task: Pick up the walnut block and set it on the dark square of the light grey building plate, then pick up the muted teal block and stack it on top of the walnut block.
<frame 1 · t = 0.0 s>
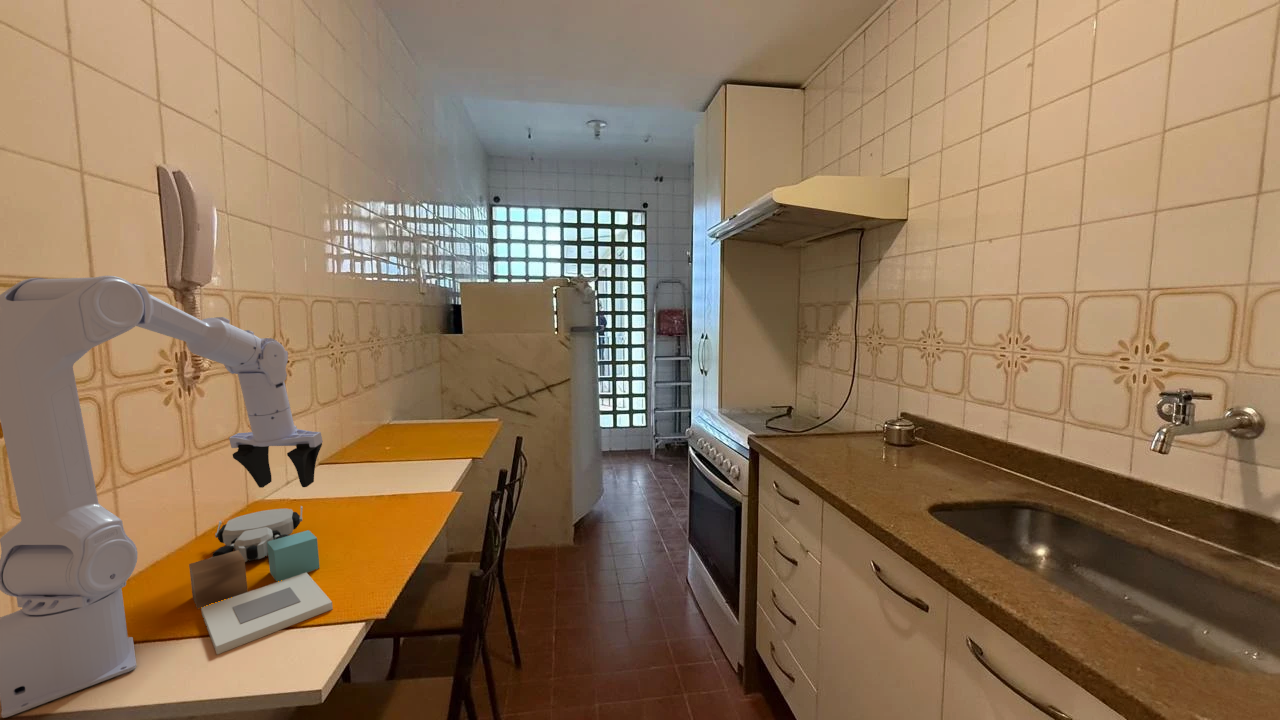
hand: (286, 484, 87), 11 cm above the table, tool pointing down, fingers open, 7 cm apart
walnut brick: (220, 595, 72), on the table
teal brick: (295, 570, 79), on the table
build plate: (267, 611, 68), on the table
robot toy: (259, 550, 87), on the table
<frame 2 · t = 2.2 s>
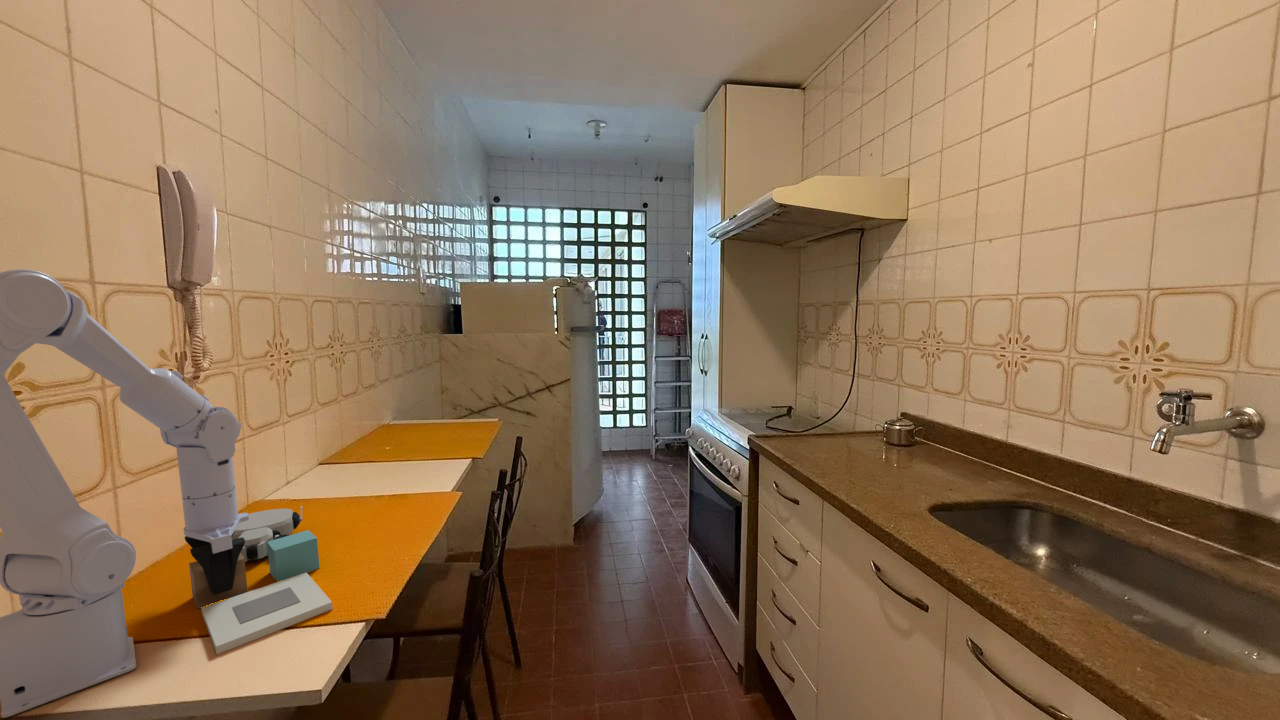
hand: (219, 585, 72), 1 cm above the table, tool pointing down, fingers closed on walnut brick, 4 cm apart
walnut brick: (220, 594, 72), on the table, touching gripper
everything else where it was.
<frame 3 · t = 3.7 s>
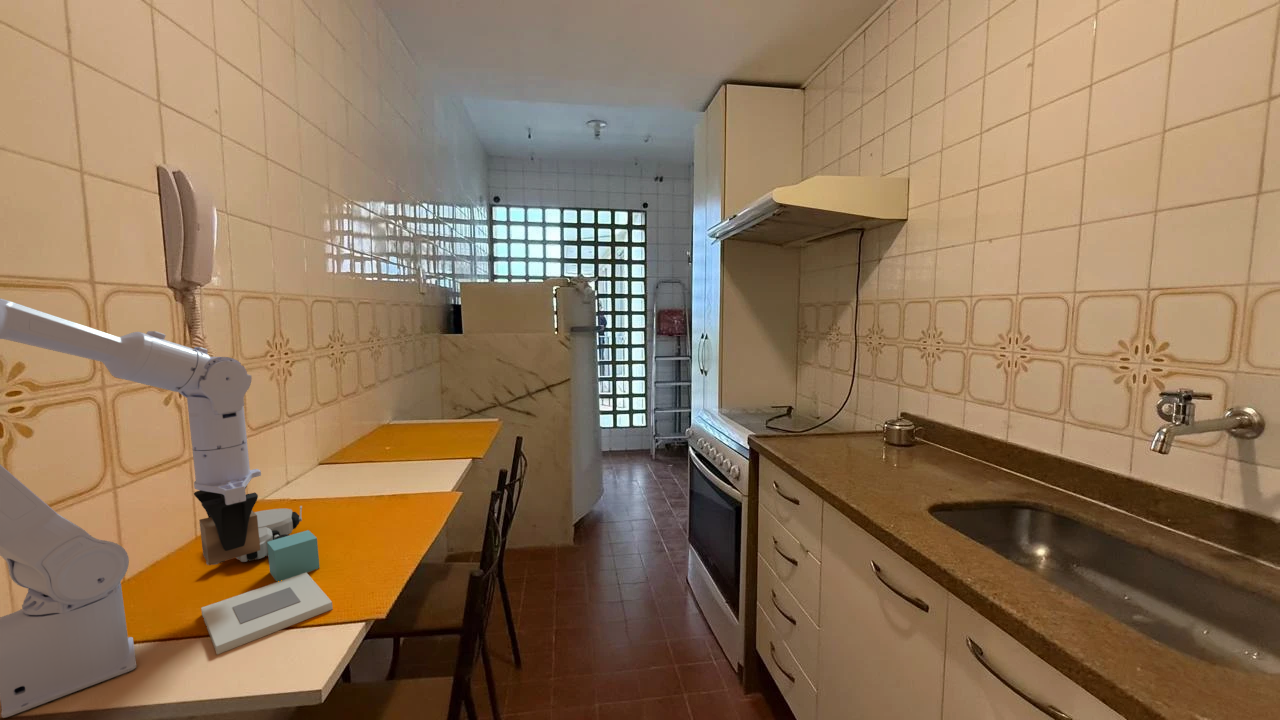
hand: (230, 542, 70), 8 cm above the table, tool pointing down, fingers closed on walnut brick, 4 cm apart
walnut brick: (232, 552, 70), point 7 cm above the table, touching gripper
everything else where it was.
when the fingers open (4 cm above the table, at t = 5.4 s): walnut brick drops 1 cm, resting on build plate.
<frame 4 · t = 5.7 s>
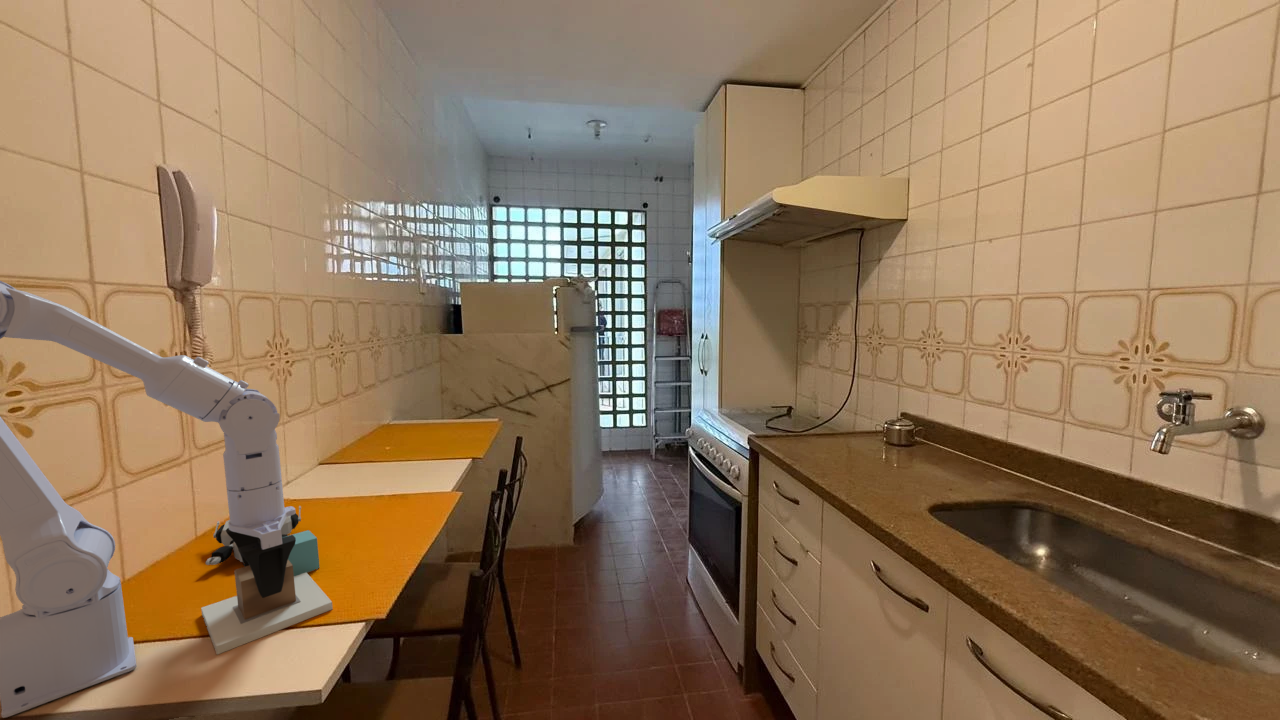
hand: (264, 583, 67), 4 cm above the table, tool pointing down, fingers open, 7 cm apart
walnut brick: (267, 603, 68), point 1 cm above the table, touching build plate
everything else where it was.
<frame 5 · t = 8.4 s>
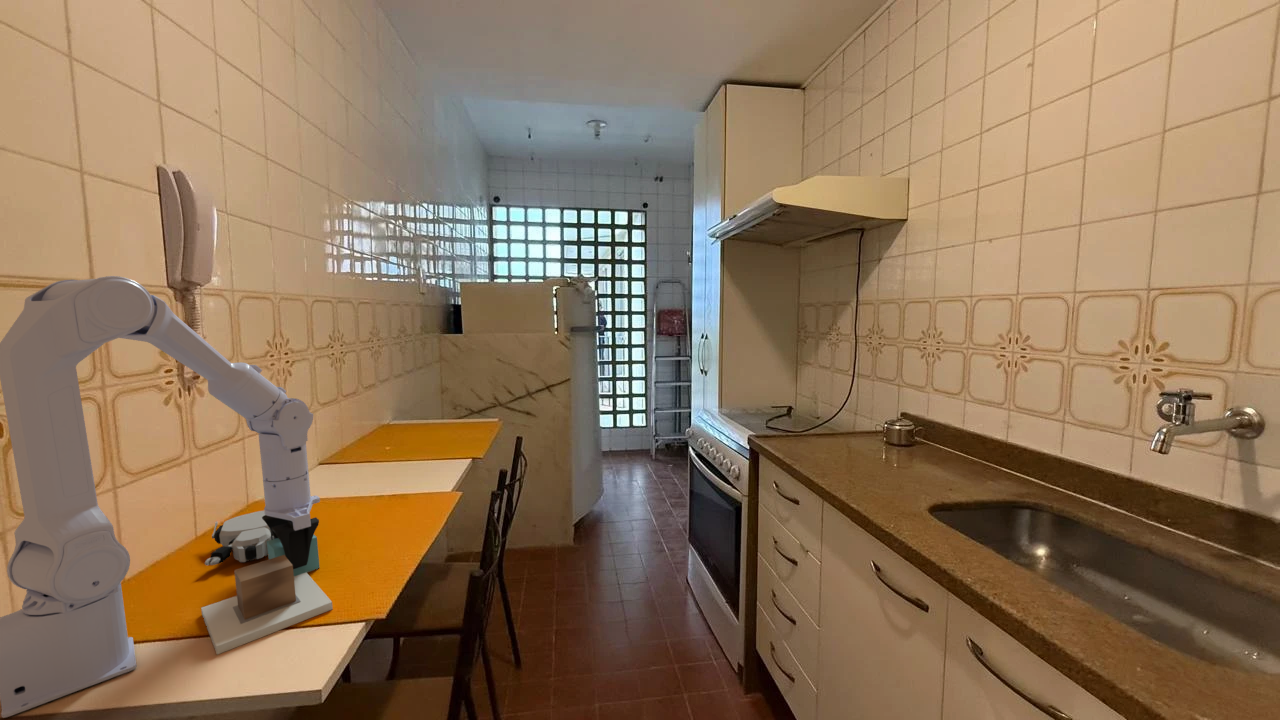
hand: (294, 561, 79), 1 cm above the table, tool pointing down, fingers closed on teal brick, 4 cm apart
teal brick: (294, 570, 79), on the table, touching gripper
everything else where it was.
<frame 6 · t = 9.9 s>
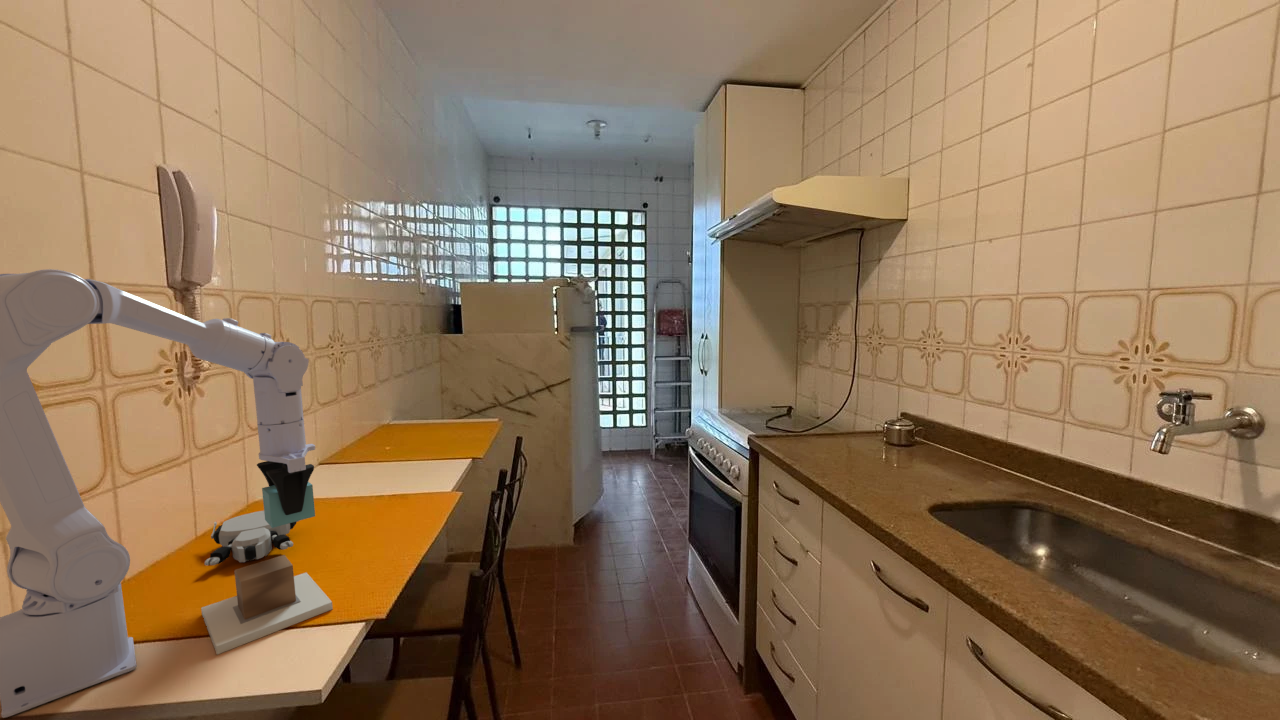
hand: (289, 508, 78), 10 cm above the table, tool pointing down, fingers closed on teal brick, 4 cm apart
teal brick: (290, 518, 78), point 8 cm above the table, touching gripper
everything else where it was.
when the fingers open (9 cm above the table, at t = 11.7 s): teal brick drops 1 cm, resting on walnut brick.
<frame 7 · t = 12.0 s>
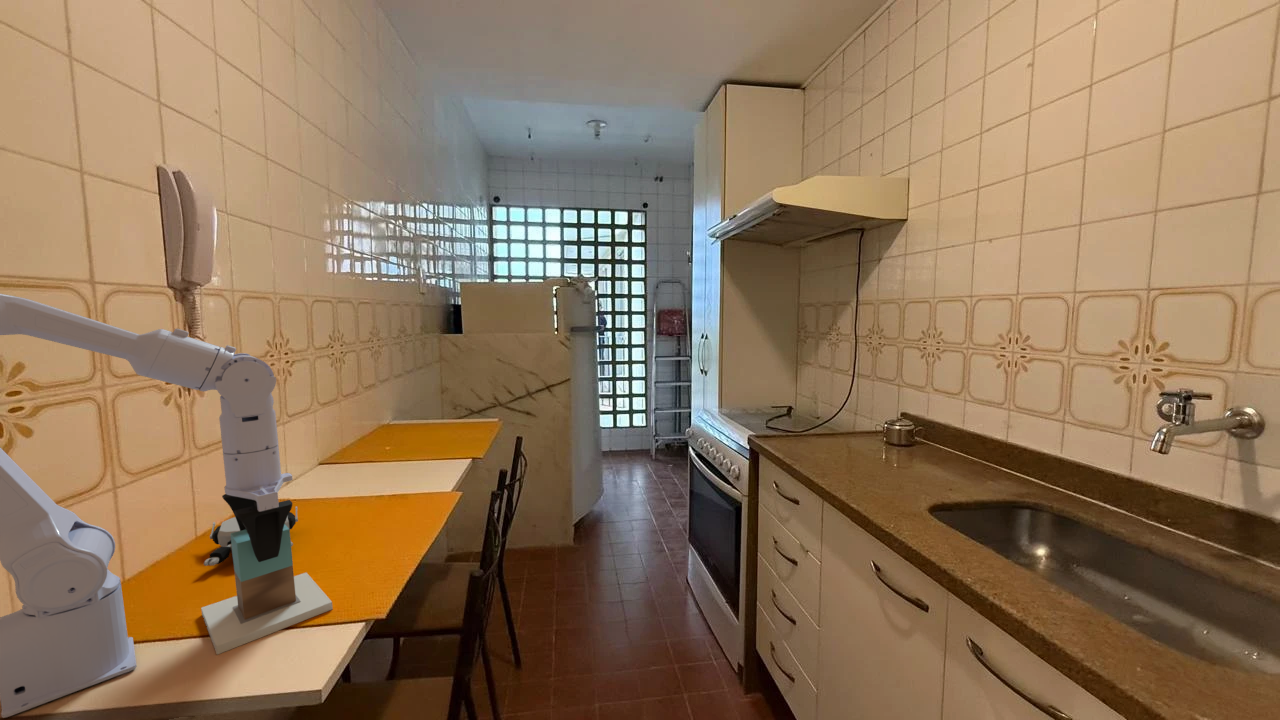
hand: (261, 549, 67), 9 cm above the table, tool pointing down, fingers open, 7 cm apart
walnut brick: (267, 603, 68), point 1 cm above the table, touching build plate, teal brick
teal brick: (263, 567, 67), point 6 cm above the table, touching walnut brick
everything else where it was.
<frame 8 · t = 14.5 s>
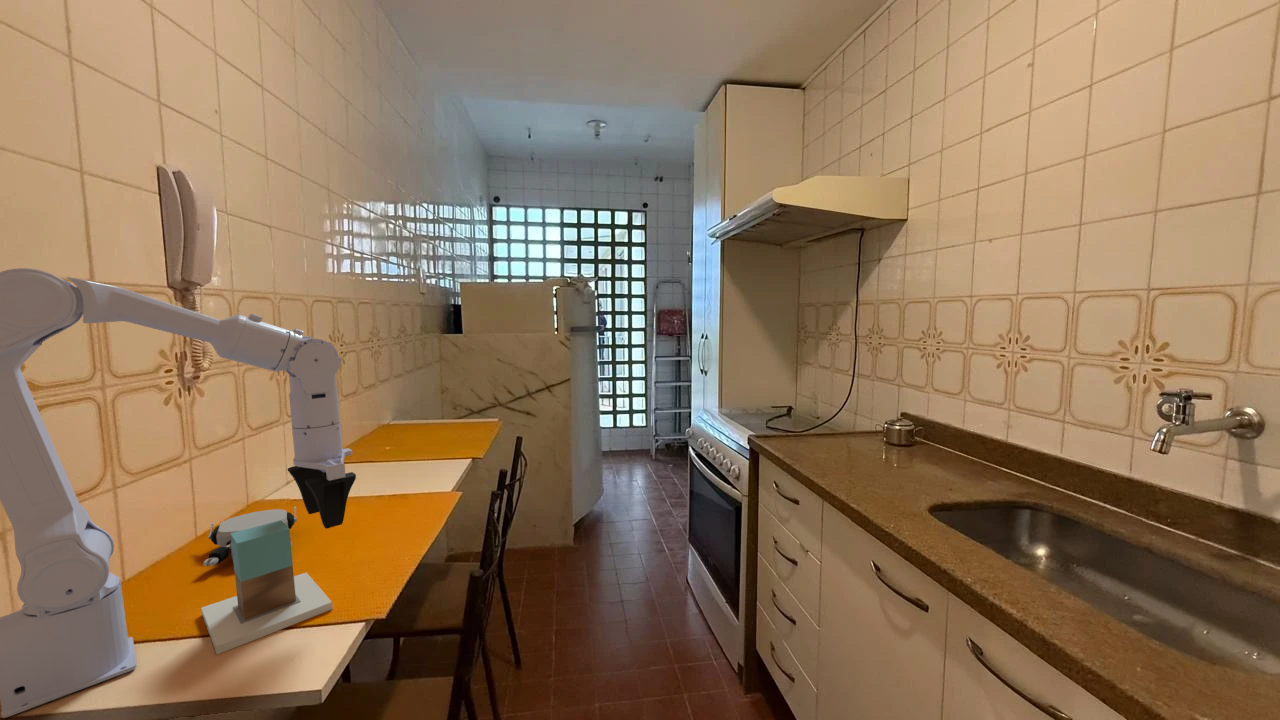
hand: (324, 518, 72), 10 cm above the table, tool pointing down, fingers open, 7 cm apart
nothing on the table moved.
at the end: walnut brick 0.1 cm off-centre on the build plate, point 1.1 cm above the build plate's base; teal brick 0.1 cm off-centre on the walnut brick, point 5.0 cm above the walnut brick's base; teal brick tilted 0° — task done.
